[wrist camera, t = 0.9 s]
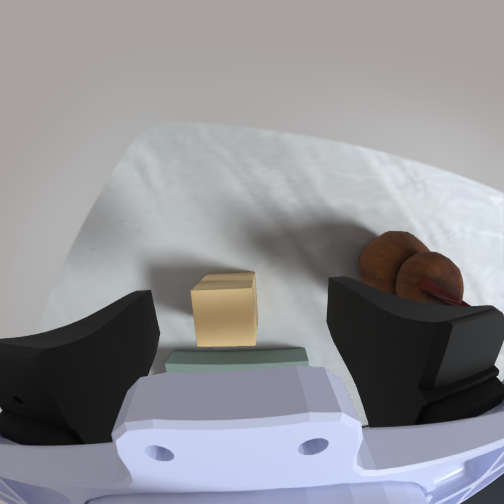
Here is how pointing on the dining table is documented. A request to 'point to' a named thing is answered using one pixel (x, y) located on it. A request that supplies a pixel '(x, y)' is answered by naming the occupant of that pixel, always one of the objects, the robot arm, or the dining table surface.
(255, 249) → the dining table surface
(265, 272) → the dining table surface
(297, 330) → the dining table surface
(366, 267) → the wooden figurine
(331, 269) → the dining table surface
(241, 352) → the green flat slab
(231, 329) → the block
